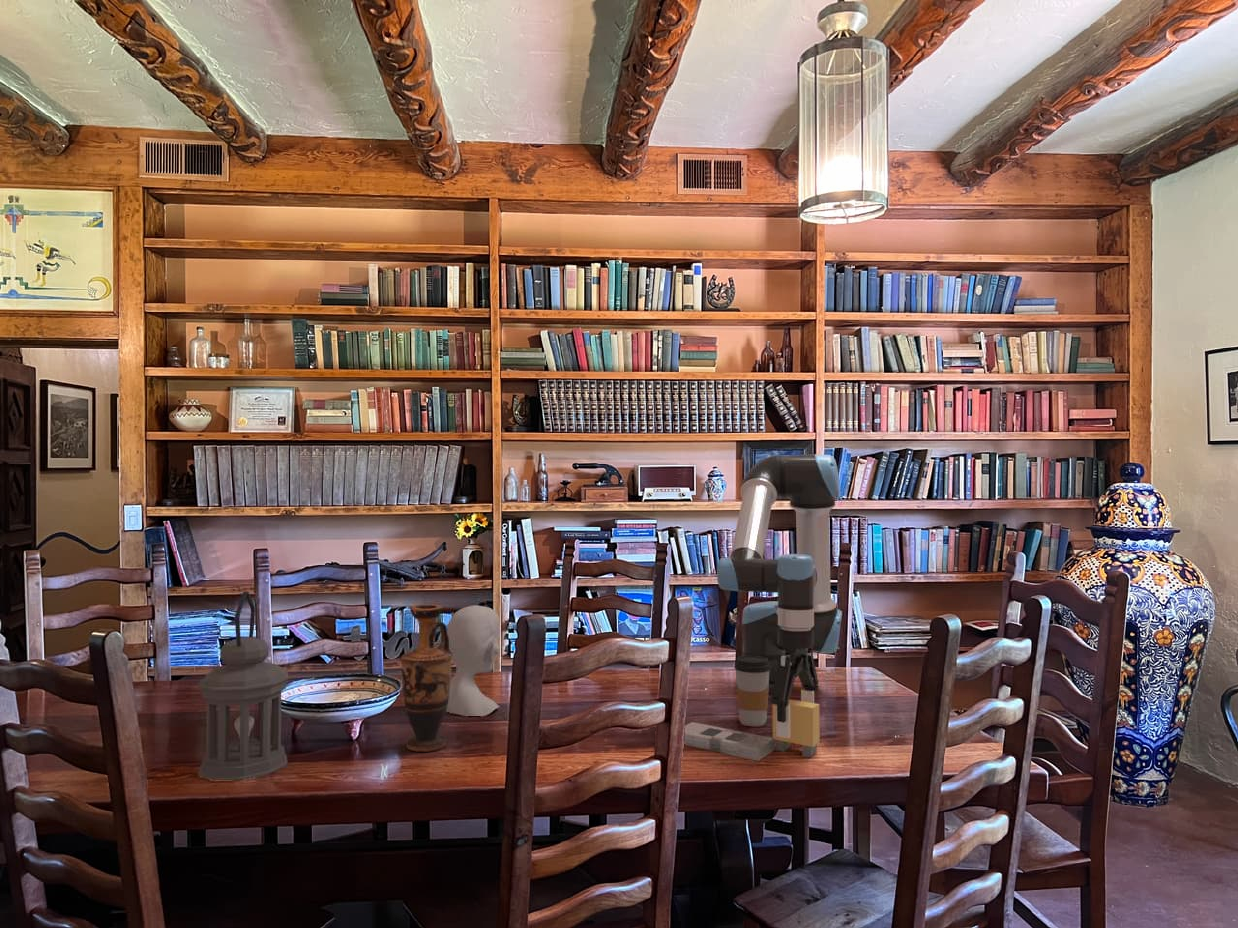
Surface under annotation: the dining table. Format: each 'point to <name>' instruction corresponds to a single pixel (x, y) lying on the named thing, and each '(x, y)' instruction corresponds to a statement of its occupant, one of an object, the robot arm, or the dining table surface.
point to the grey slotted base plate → (728, 741)
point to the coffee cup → (752, 689)
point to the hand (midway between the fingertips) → (795, 728)
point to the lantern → (243, 708)
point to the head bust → (472, 658)
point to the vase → (427, 680)
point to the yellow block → (800, 727)
